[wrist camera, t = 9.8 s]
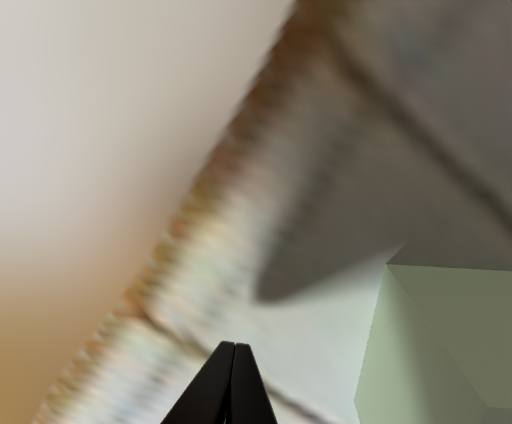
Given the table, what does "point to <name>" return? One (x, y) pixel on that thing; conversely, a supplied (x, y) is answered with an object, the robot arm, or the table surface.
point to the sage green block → (439, 348)
